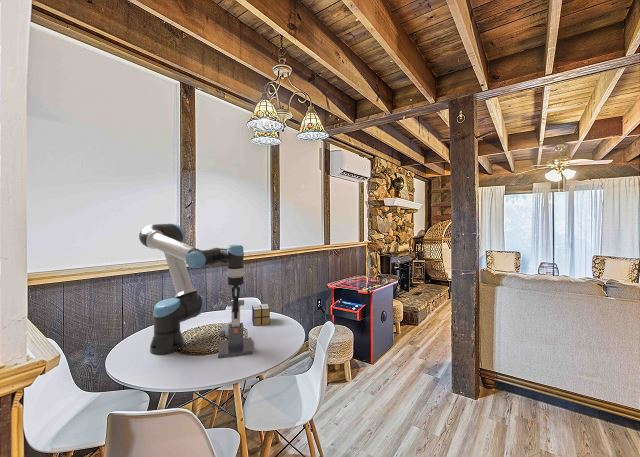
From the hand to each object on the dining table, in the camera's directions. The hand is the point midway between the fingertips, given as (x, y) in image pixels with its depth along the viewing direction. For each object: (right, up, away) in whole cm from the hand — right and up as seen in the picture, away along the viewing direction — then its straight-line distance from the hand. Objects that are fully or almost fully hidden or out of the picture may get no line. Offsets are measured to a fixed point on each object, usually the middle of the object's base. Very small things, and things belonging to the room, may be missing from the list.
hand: (235, 322), depth 143 cm
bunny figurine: (-10, -13, +19) cm, 25 cm away
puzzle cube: (+5, -12, +36) cm, 39 cm away
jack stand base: (0, -13, +1) cm, 13 cm away
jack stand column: (0, -11, 0) cm, 11 cm away
